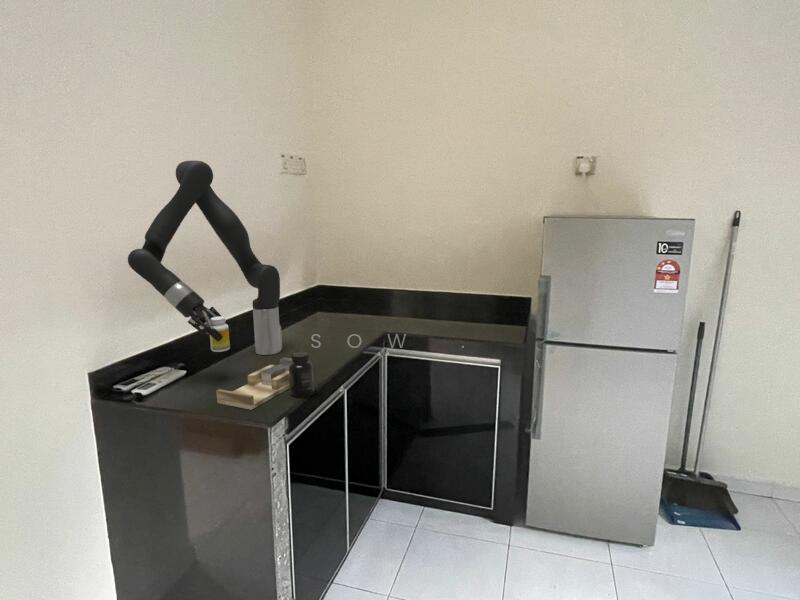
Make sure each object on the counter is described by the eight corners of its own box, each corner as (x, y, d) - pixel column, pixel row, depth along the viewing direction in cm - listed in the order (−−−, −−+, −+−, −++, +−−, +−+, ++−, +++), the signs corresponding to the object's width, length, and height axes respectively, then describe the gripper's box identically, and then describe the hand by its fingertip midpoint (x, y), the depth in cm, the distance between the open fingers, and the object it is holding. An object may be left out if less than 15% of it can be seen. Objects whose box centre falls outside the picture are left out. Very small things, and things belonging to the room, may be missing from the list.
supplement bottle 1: (207, 349, 151) (204, 318, 148) (224, 345, 155) (222, 314, 152) (216, 353, 147) (213, 321, 145) (233, 349, 151) (231, 317, 149)
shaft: (284, 371, 156) (283, 357, 155) (296, 373, 154) (296, 359, 153) (260, 383, 145) (259, 368, 144) (273, 386, 143) (272, 370, 142)
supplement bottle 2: (315, 389, 144) (313, 350, 142) (312, 397, 137) (310, 357, 135) (292, 389, 144) (290, 351, 142) (288, 398, 137) (286, 358, 135)
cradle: (269, 376, 155) (269, 364, 154) (300, 381, 150) (300, 368, 149) (217, 403, 134) (216, 388, 133) (251, 409, 129) (250, 395, 129)
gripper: (179, 295, 140) (223, 334, 142) (202, 286, 154) (241, 322, 156) (164, 312, 142) (207, 351, 143) (188, 302, 156) (227, 338, 157)
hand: (225, 336), depth 150 cm, fingers closed on supplement bottle 1, 5 cm apart
